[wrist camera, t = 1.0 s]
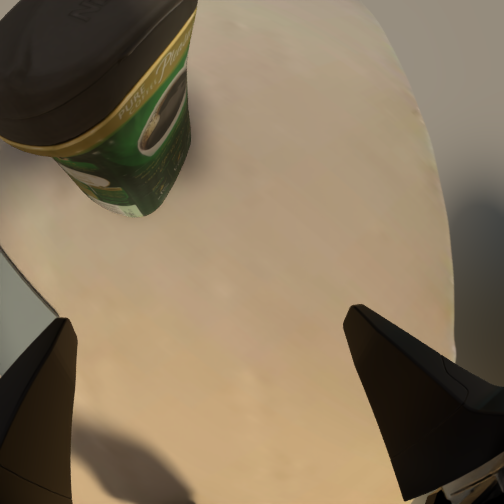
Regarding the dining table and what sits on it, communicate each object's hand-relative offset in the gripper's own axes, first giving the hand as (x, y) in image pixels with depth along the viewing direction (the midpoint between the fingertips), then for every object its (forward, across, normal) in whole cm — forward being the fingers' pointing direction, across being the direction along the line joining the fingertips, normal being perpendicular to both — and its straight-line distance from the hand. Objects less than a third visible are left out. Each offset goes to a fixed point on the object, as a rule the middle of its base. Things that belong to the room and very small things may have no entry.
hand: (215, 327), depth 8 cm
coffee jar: (+18, +5, 0) cm, 19 cm away
